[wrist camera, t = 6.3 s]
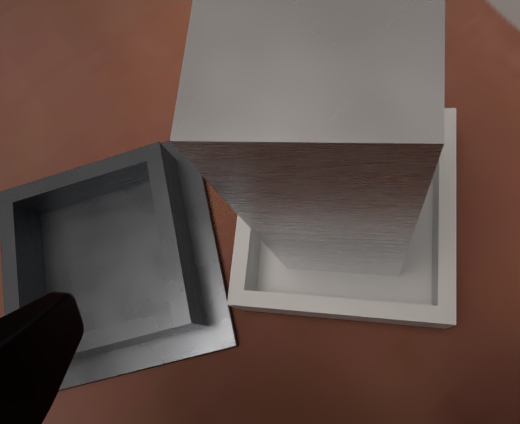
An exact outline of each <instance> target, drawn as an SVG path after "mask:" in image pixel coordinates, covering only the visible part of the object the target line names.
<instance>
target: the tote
mask: <svg viewBox="0 0 520 424" xmlns="http://www.w3.org/2000/svg"><path fill="white" fill-rule="evenodd" d="M227 305H229V306H232V307H235V308H237V309H240V310H243V311H254V312H265V313H276V314H287V315H298V316H310V317H321V318H332V319H343V320H354V321H365V322H376V323H387V324H398V325H409V326H420V327H431V328H442V329H447V328H450V327H452V326H455V325H456V108H444V146H443V148H442V151H441V154H440V157H439V160H438V163H437V166H436V169H435V172H434V175H433V178H432V181H431V184H430V186H429V189H428V192H427V195H426V198H425V201H424V204H423V207H422V210H421V213H420V216H419V219H418V222H417V224H416V227H415V230H414V233H413V236H412V239H411V242H410V245H409V248H408V251H407V254H406V257H405V260H404V262H403V265H402V268H401V271H400V274H399V276H386V275H371V274H357V273H342V272H328V271H313V270H299V269H287V268H286V267H285V266H284V264H283V263H282V262H281V261H280V260H279V259H278V258H277V257H276V256H275V255H274V254H273V253H272V251H271V250H270V249H269V248H268V247H267V246H266V245H265V244H264V243H263V242H262V241H261V239H260V238H259V237H258V236H257V235H256V234H255V233H254V232H253V231H252V230H251V229H250V228H249V226H248V225H247V224H246V223H245V222H244V221H243V220H242V219H241V218H240V217H239V216H237V224H236V232H235V241H234V249H233V258H232V266H231V274H230V283H229V291H228V300H227Z"/></svg>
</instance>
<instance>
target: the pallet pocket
mask: <svg viewBox="0 0 520 424" xmlns="http://www.w3.org/2000/svg"><path fill="white" fill-rule="evenodd" d="M0 240H1V258H2V276H3V295H4V313H5V315H7V314H9V313H11V312H13V311H15V310H17V309H19V308H21V307H23V306H25V305H27V304H29V303H31V302H33V301H34V300H36V299H38V298H40V297H42V296H44V295H46V294H48V293H50V292H65V293H70V294H72V295H73V296H74V297H75V299H76V302H77V305H78V308H79V311H80V314H81V317H82V320H83V324H84V332H83V336H82V339H81V341H80V343H79V346H78V348H77V350H76V352H75V355H74V357H73V359H72V362H71V364H70V366H69V368H68V371H67V373H66V375H65V377H64V380H63V382H62V384H61V386H60V389H59V391H60V390H64V389H68V388H72V387H76V386H80V385H84V384H88V383H92V382H96V381H100V380H104V379H108V378H112V377H116V376H120V375H124V374H128V373H132V372H136V371H140V370H144V369H148V368H152V367H156V366H160V365H164V364H168V363H172V362H176V361H180V360H184V359H188V358H192V357H196V356H200V355H203V354H207V353H211V352H215V351H219V350H223V349H227V348H231V347H235V346H238V341H237V336H236V332H235V327H234V322H233V317H232V312H231V307H230V306H229V305H227V300H228V292H227V287H226V282H225V278H224V273H223V268H222V263H221V258H220V253H219V248H218V243H217V238H216V233H215V229H214V224H213V219H212V214H211V209H210V204H209V199H208V194H207V189H206V184H205V179H204V178H203V176H202V175H201V174H200V173H199V172H198V171H197V170H196V169H195V168H194V167H193V166H192V164H191V163H190V162H189V161H188V160H187V159H186V158H185V157H184V156H183V155H182V154H181V153H180V151H179V150H178V149H177V148H176V147H175V146H174V145H173V144H172V143H171V142H170V141H167V142H164V143H160V142H157V143H154V144H151V145H147V146H144V147H141V148H138V149H135V150H132V151H128V152H125V153H122V154H119V155H116V156H113V157H109V158H106V159H103V160H100V161H97V162H93V163H90V164H87V165H84V166H81V167H78V168H74V169H71V170H68V171H65V172H62V173H58V174H55V175H52V176H49V177H46V178H43V179H39V180H36V181H33V182H30V183H27V184H23V185H20V186H17V187H14V188H11V189H8V190H4V191H1V192H0Z"/></svg>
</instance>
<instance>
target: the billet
mask: <svg viewBox="0 0 520 424" xmlns="http://www.w3.org/2000/svg"><path fill="white" fill-rule="evenodd" d="M444 84H445V0H193V2H192V9H191V15H190V21H189V27H188V33H187V39H186V45H185V52H184V58H183V64H182V70H181V76H180V82H179V88H178V95H177V101H176V107H175V113H174V119H173V125H172V131H171V138H170V142H171V143H172V144H173V145H174V146H175V147H176V148H177V149H178V150H179V151H180V153H181V154H182V155H183V156H184V157H185V158H186V159H187V160H188V161H189V162H190V163H191V164H192V166H193V167H194V168H195V169H196V170H197V171H198V172H199V173H200V174H201V175H202V176H203V178H204V179H205V180H206V181H207V182H208V183H209V184H210V185H211V186H212V187H213V188H214V189H215V191H216V192H217V193H218V194H219V195H220V196H221V197H222V198H223V199H224V200H225V201H226V203H227V204H228V205H229V206H230V207H231V208H232V209H233V210H234V211H235V212H236V213H237V214H238V216H239V217H240V218H241V219H242V220H243V221H244V222H245V223H246V224H247V225H248V226H249V228H250V229H251V230H252V231H253V232H254V233H255V234H256V235H257V236H258V237H259V238H260V239H261V241H262V242H263V243H264V244H265V245H266V246H267V247H268V248H269V249H270V250H271V251H272V253H273V254H274V255H275V256H276V257H277V258H278V259H279V260H280V261H281V262H282V263H283V264H284V266H285V267H286V268H287V269H299V270H313V271H328V272H342V273H357V274H371V275H386V276H399V274H400V271H401V268H402V265H403V262H404V260H405V257H406V254H407V251H408V248H409V245H410V242H411V239H412V236H413V233H414V230H415V227H416V224H417V222H418V219H419V216H420V213H421V210H422V207H423V204H424V201H425V198H426V195H427V192H428V189H429V186H430V184H431V181H432V178H433V175H434V172H435V169H436V166H437V163H438V160H439V157H440V154H441V151H442V148H443V146H444Z"/></svg>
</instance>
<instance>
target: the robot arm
mask: <svg viewBox="0 0 520 424" xmlns="http://www.w3.org/2000/svg"><path fill="white" fill-rule="evenodd" d="M83 332H84V324H83V320H82V317H81V314H80V311H79V308H78V305H77V302H76V299H75V297H74V296H73V295H72V294H70V293H65V292H50V293H48V294H46V295H44V296H42V297H40V298H38V299H36V300H34V301H33V302H31V303H29V304H27V305H25V306H23V307H21V308H19V309H17V310H15V311H13V312H11V313H9V314H7V315H5V316H3V317H1V318H0V424H42V422H43V420H44V419H45V417H46V415H47V413H48V411H49V409H50V408H51V406H52V404H53V401H54V399H55V397H56V395H57V393H58V391H59V389H60V386H61V384H62V382H63V380H64V377H65V375H66V373H67V371H68V368H69V366H70V364H71V362H72V359H73V357H74V355H75V352H76V350H77V348H78V346H79V343H80V341H81V339H82V336H83Z"/></svg>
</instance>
